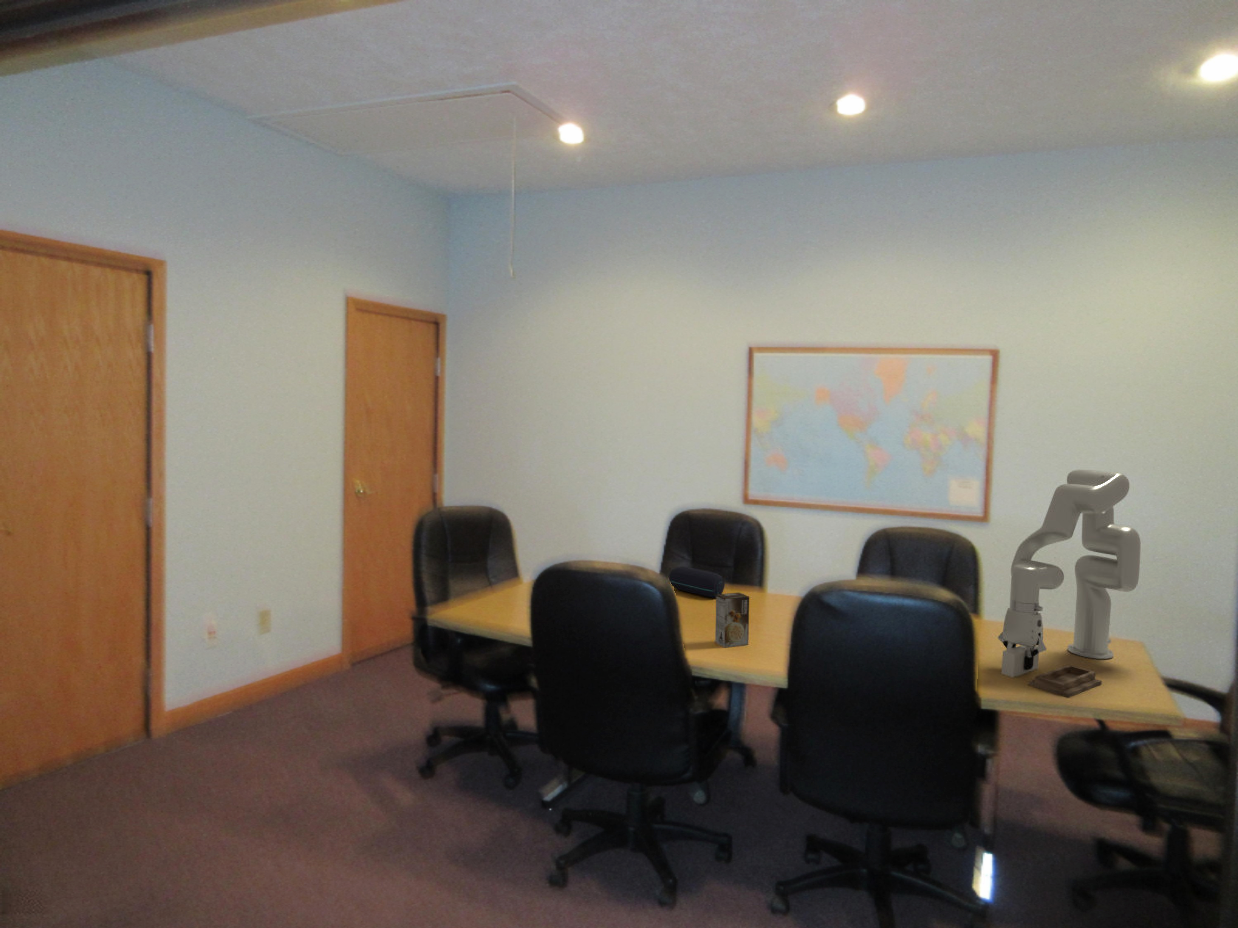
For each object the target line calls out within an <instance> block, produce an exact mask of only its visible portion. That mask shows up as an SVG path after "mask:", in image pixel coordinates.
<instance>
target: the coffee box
mask: <svg viewBox="0 0 1238 928" xmlns="http://www.w3.org/2000/svg"><path fill="white" fill-rule="evenodd" d="M749 622H750V596H749V595H747V594H744V593H741V592H731V593H730V592H729V593H722V594H717V595H716V598H715V632H714V633H715V635H714V638H715V639H714V641H715V643H716V644H718V645H719V646H721V647H723V648H731V647H741V646H747V645H749V633H750V632H749V627H750V623H749Z"/></svg>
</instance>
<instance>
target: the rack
mask: <svg viewBox="0 0 1238 928" xmlns="http://www.w3.org/2000/svg"><path fill="white" fill-rule="evenodd" d="M1096 673H1097V672H1096V671H1094V670H1093V671H1092V670H1089V669H1086V668H1082V667H1078V666H1074V665H1071V664H1066V665H1064V666H1060V667H1059V668H1055V669H1052V670H1049V671H1047V672H1044V673H1041V674H1039V675H1036V676H1034V679H1032V680H1029V681H1028V682H1027V683H1028V684H1027V685H1028V686H1030V687H1032V688H1033V687H1034V688H1036V689H1039V690H1040V689H1041V690H1043V691H1047V692H1049V693H1053V694H1056V695H1059V696H1063V697H1066V698H1071V697H1073V696H1075V695H1078V694H1080V693H1083V692H1086V691H1089V690H1090V688H1091V689H1093V688H1095V687H1096V688H1097V687H1098V686H1101V685H1102V684H1103V683H1102V682H1103V680H1100V679H1096V676H1097V675H1096Z"/></svg>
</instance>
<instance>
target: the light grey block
mask: <svg viewBox="0 0 1238 928" xmlns="http://www.w3.org/2000/svg"><path fill="white" fill-rule="evenodd" d="M1038 648H1039V646H1037V645H1036V646H1035V649H1038ZM1026 656H1027V651H1026V646H1023V645H1018V646H1016V647H1015V648H1011V649H1008V650H1007V649H1005V650H1002V658H1001V659H1002V660H1001V675H1003V674H1004V675H1003V676H1007V677H1011V678H1016V677H1018V676H1021V675H1025V674H1027V673H1030V672H1033V671H1036V670H1038V669H1039V656H1040V653H1038V654H1037V655H1035V656H1034V661H1033V667H1032V669H1029V670H1025V669H1024V664H1025V657H1026ZM1035 669H1036V670H1035ZM1029 671H1030V672H1029ZM1015 676H1016V677H1015Z"/></svg>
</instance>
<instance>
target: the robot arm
mask: <svg viewBox="0 0 1238 928" xmlns="http://www.w3.org/2000/svg"><path fill="white" fill-rule="evenodd" d="M1129 490H1130V481H1129V478H1128V477H1127V476H1126V475H1125V474H1123V473H1119V472H1115V471H1114V472H1112V471H1103V470H1102V471H1101V470H1100V471H1099V470H1091V469H1075V470H1072V471H1070V472H1069V473H1068V474H1067V477H1066V483H1064V484H1063V483H1062V484H1061V485H1059V486H1057V487H1056V488H1055V489H1054V492H1053V495H1052V497H1051V501H1050V502H1049V503H1050V504H1049V506H1048V509H1047V511H1046V514H1045V517H1044V520H1043V522H1042V525H1041V527H1040V528H1038V529H1037V530H1036V531H1034V532H1032V533H1031V534H1030V535H1028V536H1027V537H1026V538H1025V539H1024V540H1023V541H1022V542H1021V543H1020V544H1019V546H1018V547H1017V549H1016V551H1015V553H1014V556H1013V560H1012V562H1011V566H1010V567H1011V568H1010V574H1011V575H1010V576H1011V579H1010V595H1009V607H1008V608H1007V610H1006V613H1005V615H1004V622H1003V627H1002V628H1003V629H1002V631H1001V632H1000V634H999V635H998V636H997V639H998V640H999V641H1000V642H1001V643H1002V644H1003V646H1004V647H1005V649H1006V650H1008V649H1011V648H1015V647H1017V645H1018V646H1021V645H1023V646H1026V651H1027V656H1026V657H1025V664H1024V669H1025V670H1029V669H1032V667H1033V661H1034V656H1035V655H1037V654H1038V653H1039V654H1040V653H1043V652H1046V651H1047V647H1046V645H1045V643H1044V628H1043V627H1044V626H1043V625H1044V624H1043V618H1042V614H1041V612H1042V611H1043V609H1044V608H1043V606H1040V602H1039V600H1040V596H1039V595H1040V590H1049V591H1050V590H1055V589H1058V588H1059V587H1060V586H1061V585H1063V582H1064V579H1065V575H1064V572H1063V570H1062V568H1060V567H1059V566H1058V565H1055V564H1052V563H1046V562H1041V561H1038V560H1032V559H1033V557H1034V555H1035V554H1036V553H1037V552H1038V551H1039V550H1041V549H1042V548H1044V547H1046V546H1049V545H1052V544H1055V543H1060V542H1064V541H1067V540H1070V539H1072V537H1073V535H1074V532H1075V529H1076V526H1077V523H1078V521H1079V519H1080V516H1082V519H1081V522H1082V523H1081V545H1082V547H1083V549H1085V550H1088V551H1090V552H1093V553H1098V554H1099V553H1100V554H1104V555H1110V556H1115V557H1116V559H1115V558H1110V557H1106V556H1105V557H1104V556H1099V555H1093V554H1092V555H1091V554H1090V555H1089V554H1086V555H1083V556H1081V557H1079V558H1078V559H1077V560H1076V562H1075V565H1074V574H1075V581H1076V582H1075V583H1076V600H1075V601H1076V602H1075V616H1074V617H1075V618H1074V629H1073V630H1074V631H1073V643H1071V644H1068V645H1067V651H1069V652H1070V653H1072V654H1074V655H1077V656H1080V657H1084V658H1085V657H1086V658H1089V659H1090V658H1091V659H1100V660H1104V659H1105V660H1108V659H1111V658H1113V657H1114V652H1113V651H1112V650H1111V649H1109V644H1111V643H1112V639H1111V638H1110V635H1109V634H1110V625H1111V624H1110V623H1111V621H1110V620H1111V610H1112V601H1111V596H1110V594H1109V592H1108V591H1107V589H1108V590H1113V591H1117V592H1124V593H1129V592H1132V591H1133V590H1135V589H1136V587H1137V586H1138V582H1139V579H1140V569H1141V568H1140V563H1141V547H1142V546H1141V537H1140V534H1139V533H1138V532H1137V530H1136V529H1135V528H1133V527H1130V526H1127V525H1126V526H1125V525H1121V524H1115V512H1114V511H1115V509H1114V506H1116V505H1117V504H1118V503H1120V502H1121V501H1123V500H1124V499H1125V498H1126V497H1127V495H1128V493H1129ZM1081 514H1082V515H1081ZM1035 646H1039V648H1038V649H1035Z"/></svg>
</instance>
